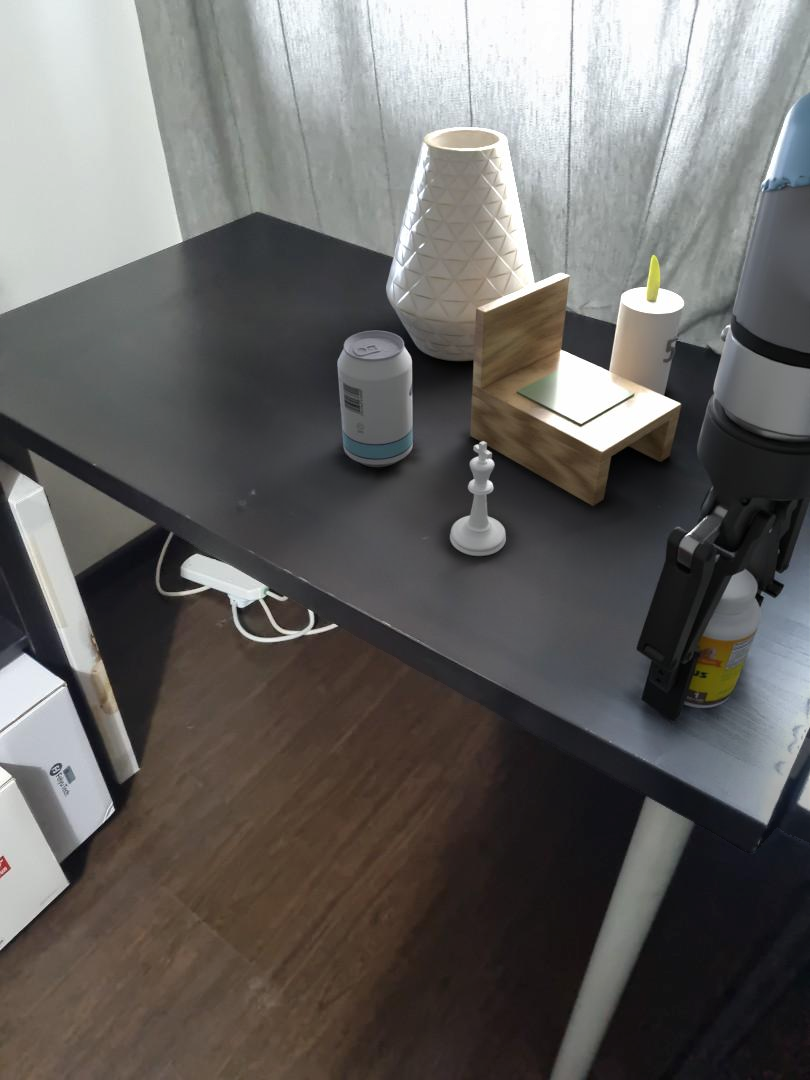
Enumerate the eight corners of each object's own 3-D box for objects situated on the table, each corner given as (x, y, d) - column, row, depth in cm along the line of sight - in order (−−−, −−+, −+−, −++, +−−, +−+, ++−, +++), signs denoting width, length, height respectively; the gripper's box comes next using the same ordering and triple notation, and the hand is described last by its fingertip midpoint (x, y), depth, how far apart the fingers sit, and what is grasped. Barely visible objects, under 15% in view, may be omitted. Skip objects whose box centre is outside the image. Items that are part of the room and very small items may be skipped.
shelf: (669, 455, 82) (700, 324, 73) (592, 506, 76) (615, 370, 67) (547, 395, 91) (560, 272, 82) (470, 435, 85) (475, 308, 76)
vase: (478, 298, 110) (486, 109, 95) (559, 351, 99) (583, 145, 84) (363, 329, 104) (352, 132, 89) (435, 390, 92) (437, 174, 77)
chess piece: (478, 513, 76) (484, 419, 69) (517, 539, 73) (526, 444, 66) (438, 535, 73) (439, 441, 67) (476, 564, 70) (482, 468, 64)
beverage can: (423, 463, 82) (423, 353, 74) (357, 480, 80) (350, 368, 72) (398, 428, 86) (395, 322, 79) (335, 443, 85) (326, 335, 77)
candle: (643, 411, 88) (670, 276, 79) (594, 389, 92) (615, 256, 82) (677, 391, 91) (708, 258, 82) (629, 370, 95) (652, 240, 85)
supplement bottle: (637, 672, 61) (663, 570, 54) (691, 642, 63) (723, 541, 56) (694, 724, 57) (729, 622, 51) (749, 691, 59) (790, 588, 53)
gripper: (809, 327, 52) (723, 588, 67) (611, 448, 42) (562, 722, 57) (930, 370, 48) (810, 638, 63) (743, 516, 38) (652, 794, 53)
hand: (692, 678), depth 60 cm, fingers open, 7 cm apart
